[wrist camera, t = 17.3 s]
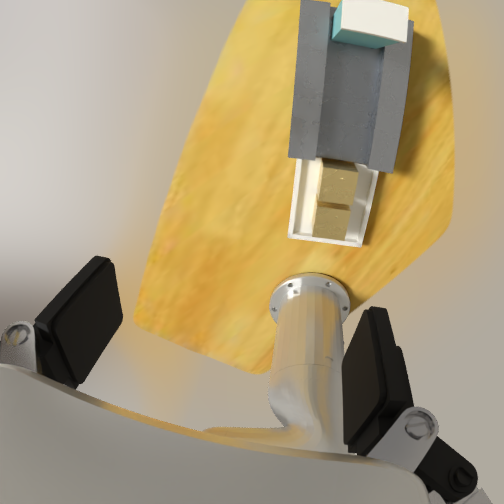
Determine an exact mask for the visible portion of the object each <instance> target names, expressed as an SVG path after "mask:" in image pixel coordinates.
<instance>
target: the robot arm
mask: <svg viewBox="0 0 504 504" xmlns="http://www.w3.org/2000/svg"><path fill="white" fill-rule="evenodd" d="M269 309H270V313H271V316H272V318H273V320H274V321H275V322H276V323H277V329H276V336H275V344H274V351H273V359H272V366H271V374H270V381H269V389H268V400H269V404H270V407H271V409H272V411H273V413H274V414H275V416H276V417H277V418H278V420H279V421H280V422H281V423H282V424H283V426H284V427H282V428H240V427H212V428H208V429H205V430H203V431H202V432H201V431H197V430H193V429H189V428H185V427H181V426H178V425H174V424H171V423H167V422H163V421H160V420H157V419H153V418H150V417H147V416H144V415H141V414H138V413H135V412H132V411H129V410H126V409H123V408H121V407H118V406H115V405H112V404H110V403H107V402H104V401H101V400H99V399H97V398H94V397H91V396H89V395H87V394H84V393H82V392H79V391H77V390H76V388H77V387H78V385H79V384H82V383H83V382H84V381H85V379H86V378H87V376H88V374H89V373H90V371H91V370H92V368H93V366H94V365H95V363H96V362H97V360H98V358H99V357H100V355H101V354H102V352H103V350H104V349H105V347H106V346H107V344H108V343H109V341H110V340H111V338H112V337H113V335H114V334H115V332H116V331H117V329H118V328H119V326H120V325H121V323H122V319H123V314H122V308H121V303H120V297H119V292H118V286H117V280H116V274H115V267H114V264H113V263H111V260H110V259H109V258H106V257H101V256H95V257H93V258H92V259H91V260H90V261H89V262H88V263H87V264H86V265H85V266H84V267H83V268H82V269H81V270H80V272H78V274H77V275H75V276H74V278H72V280H71V281H70V282H69V283H68V284H67V285H66V286H65V287H64V288H63V289H62V290H61V291H60V292H59V293H58V294H57V295H56V296H55V298H54V299H53V300H52V301H51V302H50V303H49V304H48V305H47V307H46V308H45V309H44V310H43V311H42V312H41V313H40V314H39V315H38V316H37V318H36V319H35V324H34V325H33V326H32V325H31V324H30V323H28V322H25V321H18V322H15V323H12V324H11V325H9V326H8V327H7V328H6V329H5V330H4V332H3V333H2V337H1V341H0V504H492V503H491V501H490V500H489V498H488V496H487V495H486V493H485V492H484V490H483V489H482V488H481V489H478V488H477V486H476V485H477V480H478V476H477V472H476V469H475V468H474V466H473V465H472V464H471V463H470V462H469V461H467V460H466V459H465V458H464V457H462V456H461V455H460V454H459V453H457V452H456V451H455V450H454V449H452V448H451V447H450V446H449V445H448V444H446V443H445V442H444V441H443V440H441V439H440V438H439V437H438V436H437V434H438V428H439V426H438V422H437V420H436V418H435V416H434V415H433V414H432V413H431V412H430V411H428V410H426V409H425V408H421V407H414V404H413V398H412V393H411V388H410V384H409V379H408V374H407V370H406V365H405V361H404V357H403V353H402V350H401V348H400V347H399V346H396V344H395V340H394V335H393V332H392V328H391V324H390V320H389V316H388V312H387V309H386V308H380V307H373V306H371V307H370V308H369V310H364V312H363V314H362V316H361V319H360V321H359V323H358V326H357V328H356V331H355V333H354V335H353V338H352V340H351V342H350V345H349V347H348V349H347V351H346V353H345V356H344V341H343V331H342V323H343V322H344V321H345V320H346V318H347V316H348V314H349V311H350V299H349V295H348V293H347V291H346V289H345V288H344V286H343V285H342V284H341V283H340V282H338V281H337V280H335V279H334V278H332V277H329V276H327V275H324V274H319V273H301V274H298V275H294V276H291V277H289V278H287V279H285V280H284V281H282V282H281V283H280V284H279V285H278V286H277V287H276V288H275V289H274V291H273V293H272V295H271V298H270V304H269ZM65 385H66V386H65ZM354 453H357V455H355V454H354Z"/></svg>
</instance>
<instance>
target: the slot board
mask: <svg viewBox="0 0 504 504" xmlns="http://www.w3.org/2000/svg"><path fill="white" fill-rule="evenodd" d="M336 9H337V8H335V7H330V3H328V2H321V1H313V0H301V5H300V20H299V34H298V48H297V61H296V73H295V85H294V97H293V108H292V119H291V130H290V141H289V151H288V157H289V158H298V159H305V160H313V161H315V158H316V156H317V157H324V158H331V159H338V160H344V161H350V162H356V163H362V164H365V165H366V167H367V169H371V170H376V171H382V172H387V173H392V174H393V169H394V164H395V159H396V154H397V149H398V144H399V138H400V133H401V127H402V121H403V115H404V109H405V102H406V95H407V88H408V80H409V71H410V62H411V52H412V40H413V26H414V21H411V20H408V28H407V42H406V43H402V42H399V43H395V44H391V45H388V46H384V47H381V48H377V49H374V48H369V47H364V46H359V45H354V44H349V43H343V42H337V41H331V32H332V18H333V15H334V13H335V11H336Z"/></svg>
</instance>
